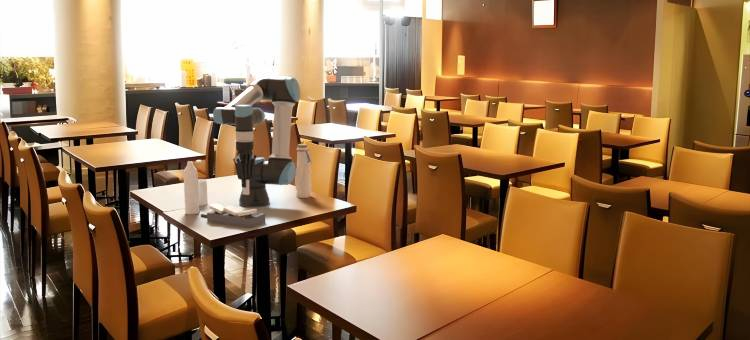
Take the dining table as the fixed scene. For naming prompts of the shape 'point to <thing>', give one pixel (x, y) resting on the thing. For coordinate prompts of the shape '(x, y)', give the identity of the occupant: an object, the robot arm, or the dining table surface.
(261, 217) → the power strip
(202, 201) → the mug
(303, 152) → the water bottle
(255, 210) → the rocker
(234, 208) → the rocker
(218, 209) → the rocker
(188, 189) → the water bottle
